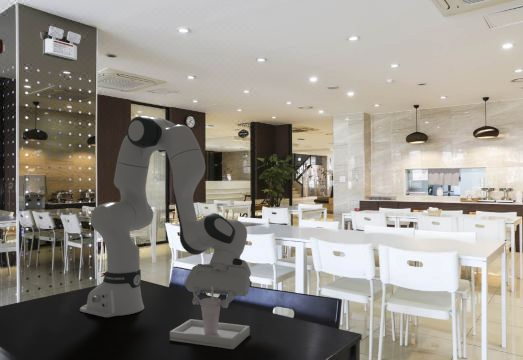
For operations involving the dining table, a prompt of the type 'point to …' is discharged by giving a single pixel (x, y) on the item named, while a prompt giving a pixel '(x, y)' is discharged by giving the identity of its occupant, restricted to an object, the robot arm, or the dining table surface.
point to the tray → (224, 338)
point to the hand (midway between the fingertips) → (209, 305)
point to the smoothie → (210, 314)
